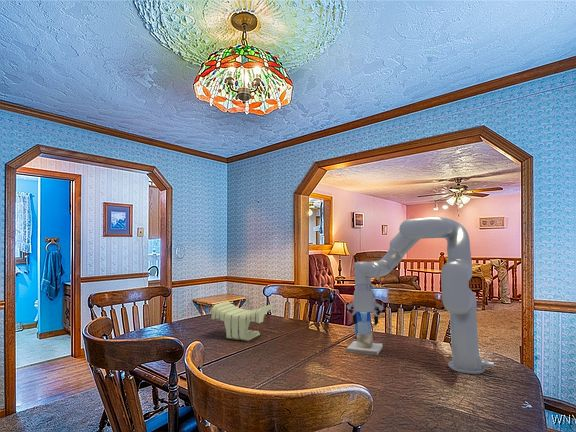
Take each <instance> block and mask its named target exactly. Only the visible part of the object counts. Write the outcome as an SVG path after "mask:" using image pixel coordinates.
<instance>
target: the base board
mask: <svg viewBox="0 0 576 432" xmlns="http://www.w3.org/2000/svg"><path fill="white" fill-rule="evenodd" d="M383 345H384V343H381V342H374V341H373V345H372V347H371V348H370V349H368V348H359V347H357V340H353V341H352V342H351V343H350V344H349V345H348V347H346V349H345V352H346V353H352V354H359V355H367V356H376V357H377V356H379V353H380V352H381V351H382V349H383V348H384V347H383Z"/></svg>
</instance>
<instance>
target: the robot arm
mask: <svg viewBox="0 0 576 432" xmlns="http://www.w3.org/2000/svg"><path fill="white" fill-rule="evenodd" d="M421 239H424V240H425V239H445V240H446V242H447V244H446V252H447V253H446V254H447V262H445V263H444V264H443V266H442V267H441V271H440V272H441V273H440V280H441V281H440V283H441V284H440V285H441V299H442V304H443V306H444V308H445V310H446V311H448V312H449V329H450V341H451V343H450V344H451V357H452V358H451V360H450V361H448V367H449V368H450V369H451V370H453V371H456V372H458V373H463V374H468V375H469V374H471V375H479V374H482V373H484V372H486V367H488V368H495V363H494V362H493V361H490V360H488V359H482V358H481V355H480V347H479V333H478V332H479V331H478V319H477V318H478V317H477V315H478V314H477V311H478V309H477V307H478V305H477V303H478V302H477V297H476V295H475V293H474V292H473V291H472V289H470V284H469V283H470V280H471V279H472V277H473V265H472V253H471V252H472V251H471V243H470V235H469V233H468V231H467V229H466V228H465V227H464V226H463V225H462V224H461V223H460V222H459V221H456V220H453V219H451V218H448V217H443V216H441V217H440V216H433V217H422V218H421V217H420V218H407V219H405V220H403V221H402V222H401V223H400V225H399V232H398V233H397V234H396V235H395V236H394V237H393V238H392V239H391V240H390V241H389V249H388V251H387V252H386V253H385V254H384V256H383V257H381V258H380V260H373V261H356V262H355V263H353V268H354V269H353V271H354V286H355V290H354V292H353V301H352V302H351V303H349V304H347V305H346V308H347V310H348V312H349V314H351V315H352V322H353V324H354V325H355V324H356V323H357V315H356V312H370V313H372V314H373V315H374V316H373V322H374V326H377V325H378V323H379V315H380V314H381V313H382V311H383V309H384V306H383V305H381V304H380V303H377V302H376V295H375V292H374V290H373V289H375V285H374V284H372V279H373V278H374V279H375V278H381V277H384V276H387V275H388V274H390V273H391V272H392V271H393V270H394V269H395V268H396V267H397V266H398V265H399V263H400V262H401V261H402V260H403V258H405V255H406V254H407V253H408V252H409V251H410V250H411V249H412V248H413V247H414V246H415V245H416V244H417V243H418V242H419V241H420V240H421ZM352 306H353V309H352V308H351V307H352ZM377 308H378V310H377Z"/></svg>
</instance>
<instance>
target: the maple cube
mask: <svg viewBox="0 0 576 432" xmlns="http://www.w3.org/2000/svg"><path fill="white" fill-rule="evenodd" d="M356 341H357V347H359V348H368V349H370V348H371V347H372V345H373V342H374V341H373V332H372V331H371V332H370V334H369V335H364V334H358V333H357V338H356Z"/></svg>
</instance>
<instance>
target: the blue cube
mask: <svg viewBox="0 0 576 432" xmlns="http://www.w3.org/2000/svg"><path fill="white" fill-rule="evenodd" d="M357 326H358V334H364V335H369V334H370V332H372V329H371V330H370V322H369V321H359V322H358V323H357Z"/></svg>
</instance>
